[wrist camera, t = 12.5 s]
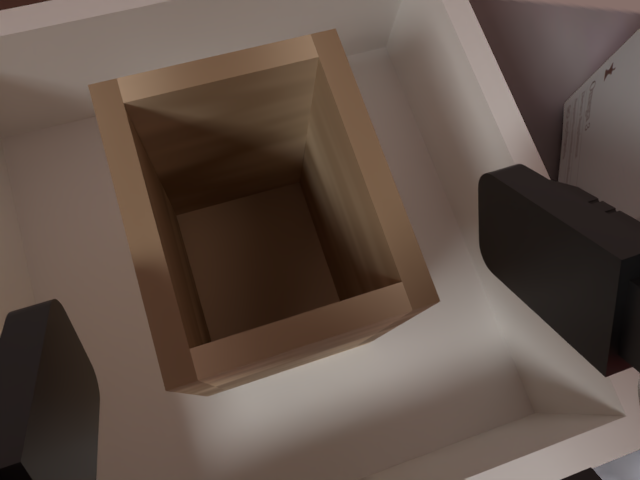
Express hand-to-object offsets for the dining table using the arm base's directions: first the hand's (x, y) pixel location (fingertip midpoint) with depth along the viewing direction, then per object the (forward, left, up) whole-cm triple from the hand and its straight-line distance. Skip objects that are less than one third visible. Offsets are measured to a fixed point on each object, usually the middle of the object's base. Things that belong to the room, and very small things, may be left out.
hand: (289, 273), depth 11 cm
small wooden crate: (0, +2, -8) cm, 9 cm away
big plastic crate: (0, +2, -9) cm, 10 cm away
